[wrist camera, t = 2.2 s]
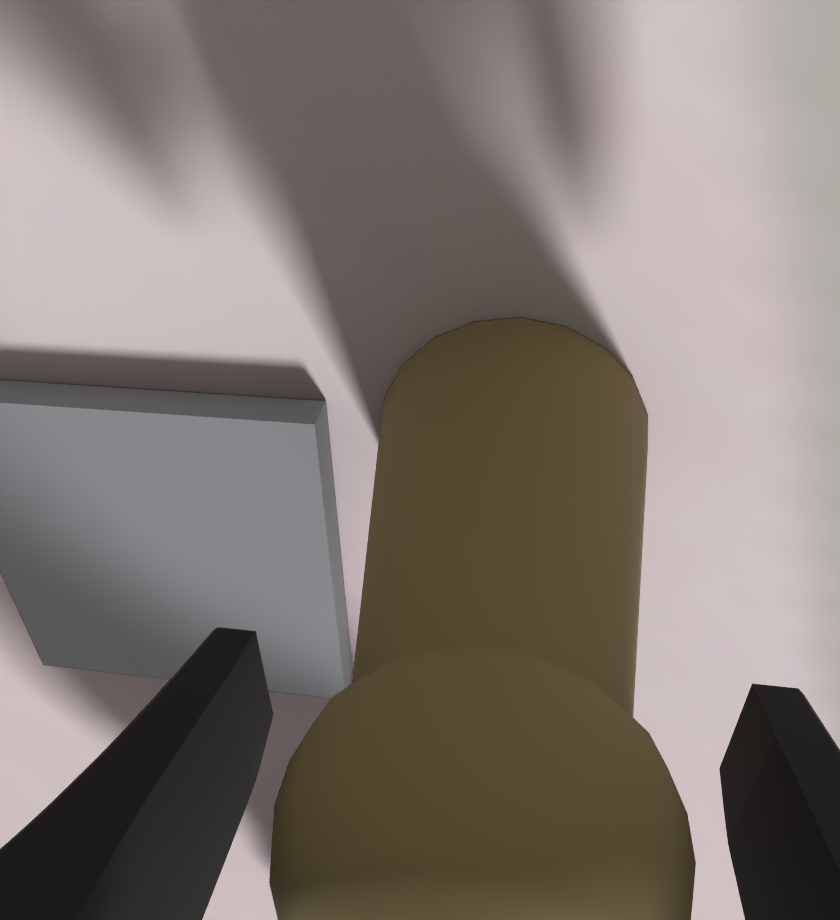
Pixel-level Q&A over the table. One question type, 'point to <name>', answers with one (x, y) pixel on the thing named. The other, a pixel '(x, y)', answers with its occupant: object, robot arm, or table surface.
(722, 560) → the table surface
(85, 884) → the robot arm
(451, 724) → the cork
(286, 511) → the mat
